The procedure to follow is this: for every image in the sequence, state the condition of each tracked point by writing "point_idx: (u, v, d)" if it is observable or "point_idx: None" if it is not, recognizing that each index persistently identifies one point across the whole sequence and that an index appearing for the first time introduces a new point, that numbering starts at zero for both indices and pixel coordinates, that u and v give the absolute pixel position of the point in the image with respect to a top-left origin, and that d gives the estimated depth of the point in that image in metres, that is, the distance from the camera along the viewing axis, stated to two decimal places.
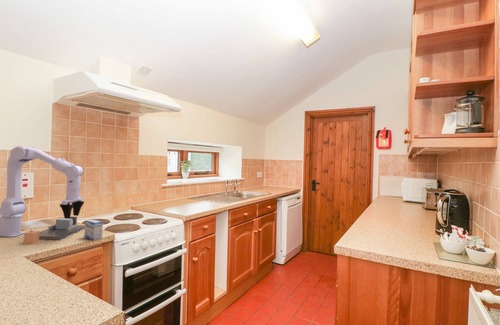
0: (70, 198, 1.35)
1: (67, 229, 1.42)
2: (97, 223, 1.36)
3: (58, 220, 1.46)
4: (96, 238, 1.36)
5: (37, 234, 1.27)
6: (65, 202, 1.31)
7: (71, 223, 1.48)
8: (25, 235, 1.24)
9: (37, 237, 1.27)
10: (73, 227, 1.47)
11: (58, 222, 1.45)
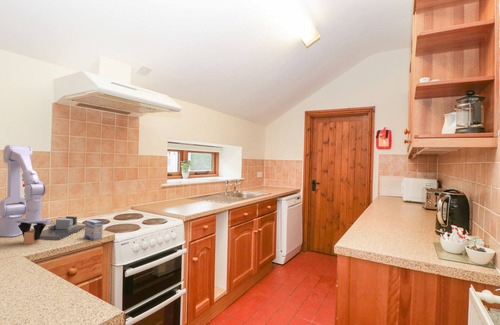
0: None
1: (67, 229, 1.42)
2: (97, 223, 1.36)
3: (58, 220, 1.46)
4: (96, 238, 1.36)
5: None
6: None
7: (71, 223, 1.48)
8: (25, 235, 1.24)
9: None
10: (73, 227, 1.47)
11: (58, 222, 1.45)
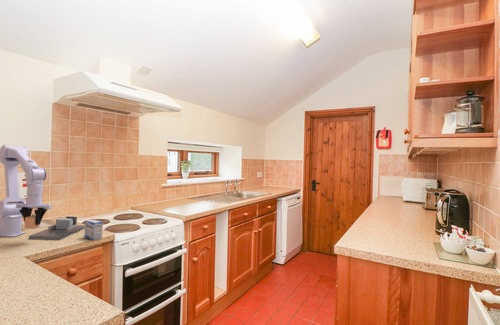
0: None
1: (67, 229, 1.42)
2: (97, 223, 1.36)
3: (58, 220, 1.46)
4: (96, 238, 1.36)
5: None
6: None
7: (71, 223, 1.48)
8: (26, 220, 1.24)
9: None
10: (73, 227, 1.47)
11: (58, 222, 1.45)
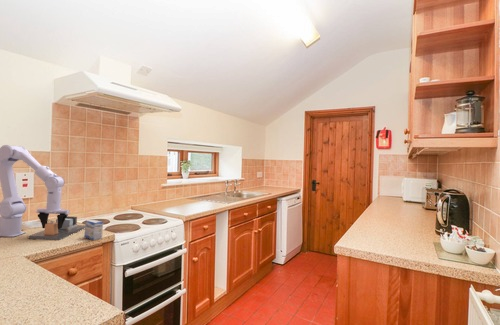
0: None
1: (67, 229, 1.42)
2: (97, 223, 1.36)
3: None
4: (96, 238, 1.36)
5: (56, 226, 1.38)
6: (37, 211, 1.36)
7: (71, 223, 1.48)
8: (46, 226, 1.35)
9: (56, 228, 1.38)
10: (73, 227, 1.47)
11: None
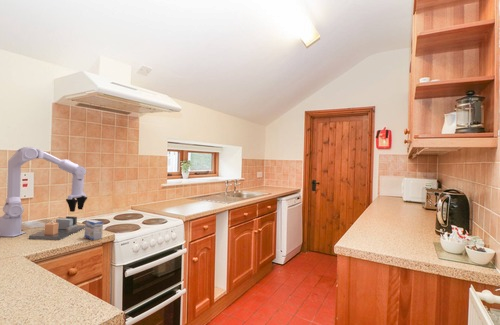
0: (75, 194, 1.55)
1: (67, 229, 1.42)
2: (97, 223, 1.36)
3: (58, 220, 1.46)
4: (96, 238, 1.36)
5: (56, 226, 1.38)
6: (70, 197, 1.51)
7: (71, 223, 1.48)
8: (46, 226, 1.35)
9: (56, 228, 1.38)
10: (73, 227, 1.47)
11: (58, 222, 1.45)
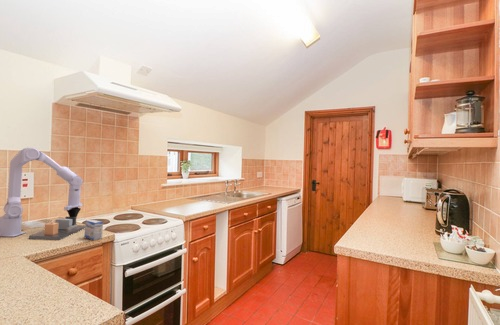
0: (71, 204, 1.52)
1: (67, 229, 1.42)
2: (97, 223, 1.36)
3: (57, 220, 1.45)
4: (96, 238, 1.36)
5: (56, 226, 1.38)
6: (67, 208, 1.48)
7: (70, 223, 1.47)
8: (46, 226, 1.35)
9: (56, 228, 1.38)
10: (73, 227, 1.47)
11: (57, 222, 1.45)
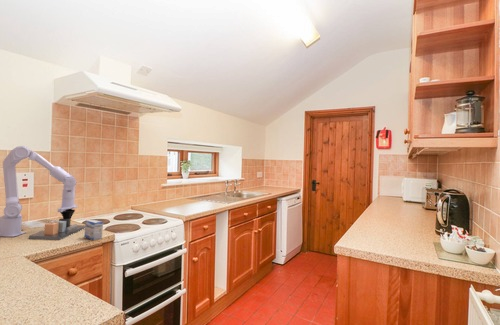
0: (65, 206, 1.47)
1: (67, 229, 1.42)
2: (97, 223, 1.36)
3: None
4: (96, 238, 1.36)
5: (56, 226, 1.38)
6: (61, 210, 1.42)
7: (64, 226, 1.42)
8: (46, 226, 1.35)
9: (56, 228, 1.38)
10: (73, 227, 1.47)
11: None
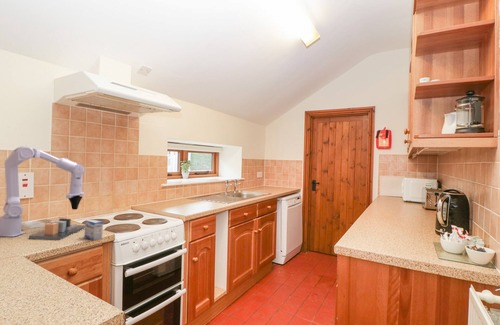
0: (73, 192, 1.53)
1: (67, 229, 1.42)
2: (97, 223, 1.36)
3: None
4: (96, 238, 1.36)
5: (56, 226, 1.38)
6: (69, 196, 1.49)
7: (64, 226, 1.42)
8: (46, 226, 1.35)
9: (56, 228, 1.38)
10: (73, 227, 1.47)
11: None
